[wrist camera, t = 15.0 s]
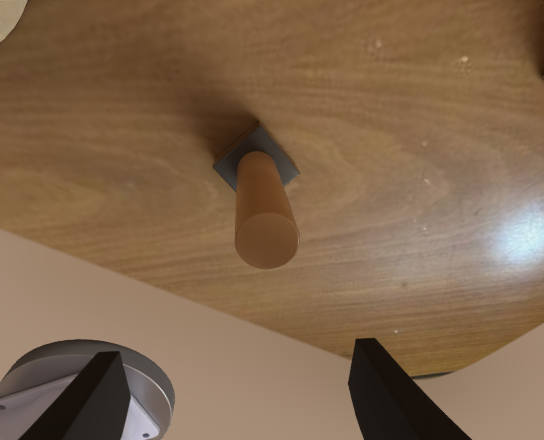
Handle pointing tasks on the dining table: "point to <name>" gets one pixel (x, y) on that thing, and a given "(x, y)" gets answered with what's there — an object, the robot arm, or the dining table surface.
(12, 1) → the cream ceramic ramekin
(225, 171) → the wooden handle stamp
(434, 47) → the dining table surface
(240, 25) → the dining table surface
